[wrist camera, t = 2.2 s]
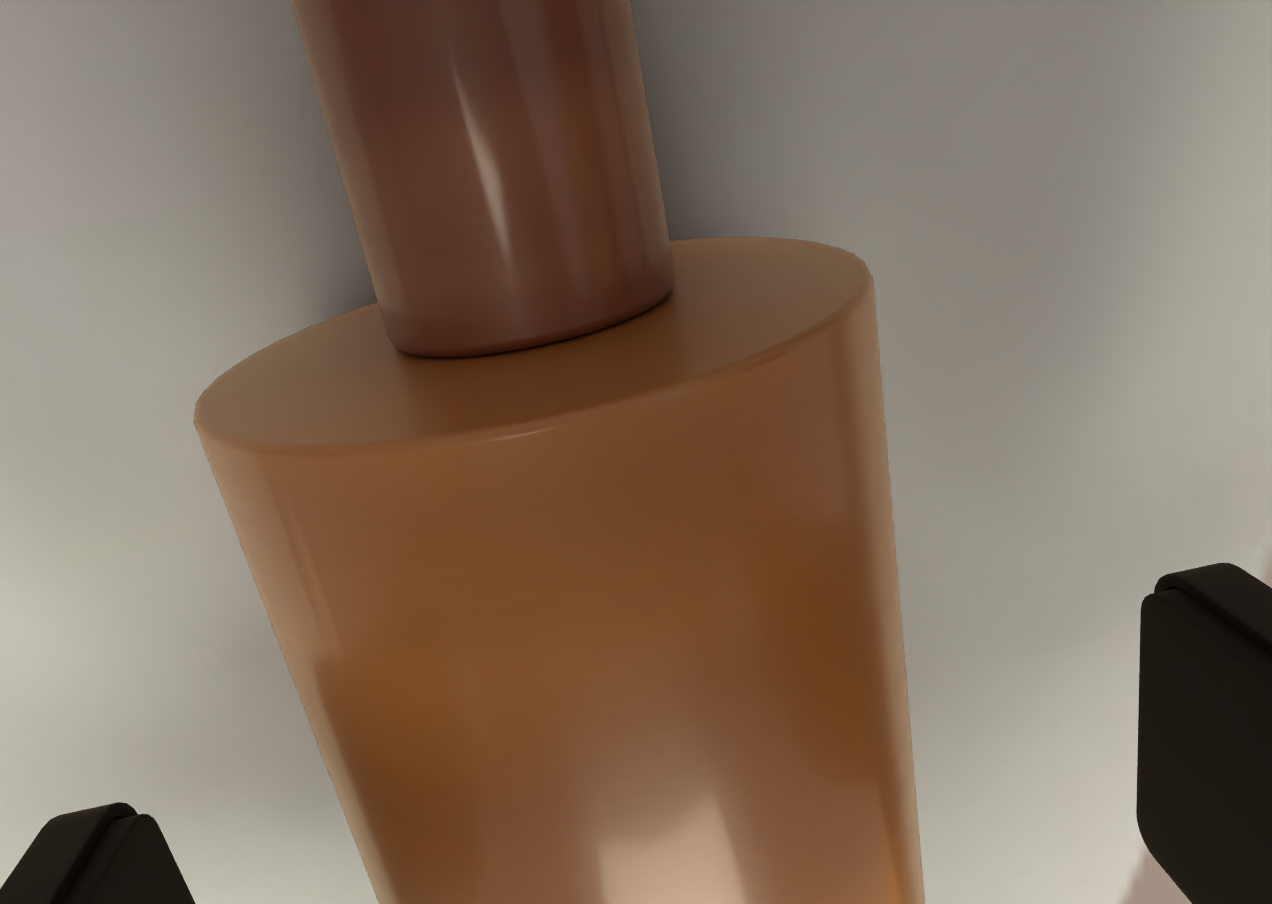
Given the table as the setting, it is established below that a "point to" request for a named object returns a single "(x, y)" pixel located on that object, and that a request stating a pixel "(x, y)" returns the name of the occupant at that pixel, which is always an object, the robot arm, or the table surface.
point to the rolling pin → (573, 497)
